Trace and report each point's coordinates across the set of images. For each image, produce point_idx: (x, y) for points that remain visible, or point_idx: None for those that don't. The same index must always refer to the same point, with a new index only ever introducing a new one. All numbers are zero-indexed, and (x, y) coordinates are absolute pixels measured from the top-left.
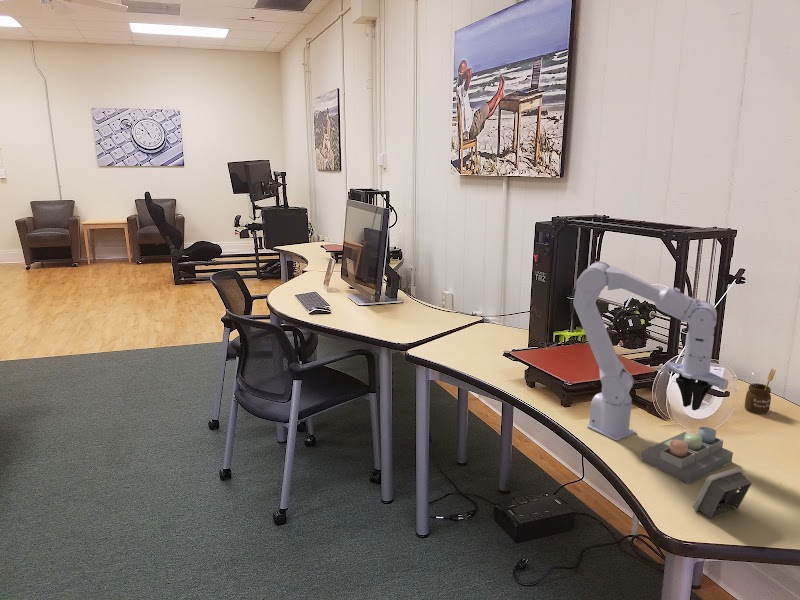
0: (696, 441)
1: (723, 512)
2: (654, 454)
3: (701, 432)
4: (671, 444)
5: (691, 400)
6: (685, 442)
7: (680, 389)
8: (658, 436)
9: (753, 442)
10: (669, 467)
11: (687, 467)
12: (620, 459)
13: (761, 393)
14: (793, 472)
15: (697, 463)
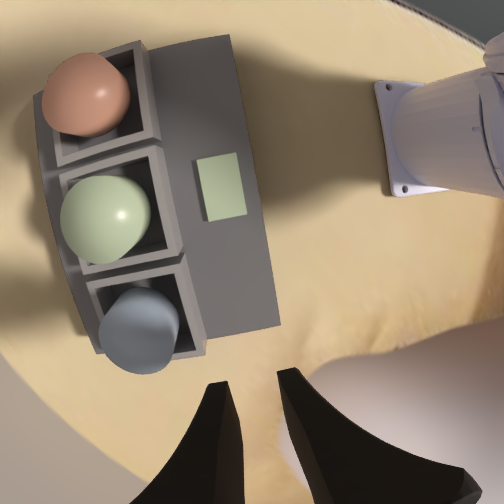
0: (64, 201)
1: None
2: (183, 55)
3: (131, 305)
4: (91, 53)
5: (290, 437)
6: (69, 130)
7: (367, 442)
8: (340, 252)
9: None
10: None
11: None
12: (266, 3)
13: None
14: (49, 406)
15: (63, 168)
